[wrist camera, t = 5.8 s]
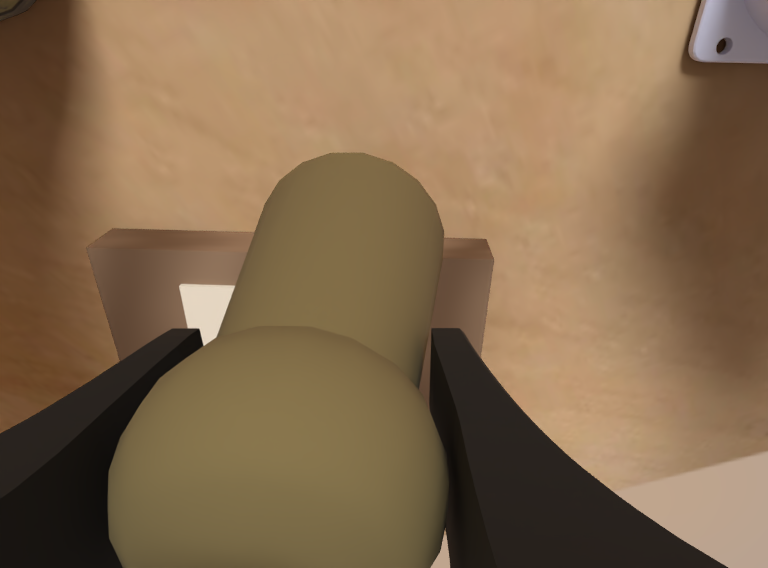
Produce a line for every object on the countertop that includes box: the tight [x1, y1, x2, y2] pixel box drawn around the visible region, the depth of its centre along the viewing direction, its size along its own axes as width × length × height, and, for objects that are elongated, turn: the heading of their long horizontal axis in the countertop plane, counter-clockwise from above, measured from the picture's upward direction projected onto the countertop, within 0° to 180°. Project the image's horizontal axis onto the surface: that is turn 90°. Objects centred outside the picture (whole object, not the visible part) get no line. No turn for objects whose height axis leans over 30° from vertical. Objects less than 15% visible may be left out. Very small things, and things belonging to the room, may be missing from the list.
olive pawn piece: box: [108, 153, 449, 568], centre depth 11 cm, size 6×6×11 cm
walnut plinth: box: [86, 229, 494, 411], centre depth 23 cm, size 16×12×2 cm
